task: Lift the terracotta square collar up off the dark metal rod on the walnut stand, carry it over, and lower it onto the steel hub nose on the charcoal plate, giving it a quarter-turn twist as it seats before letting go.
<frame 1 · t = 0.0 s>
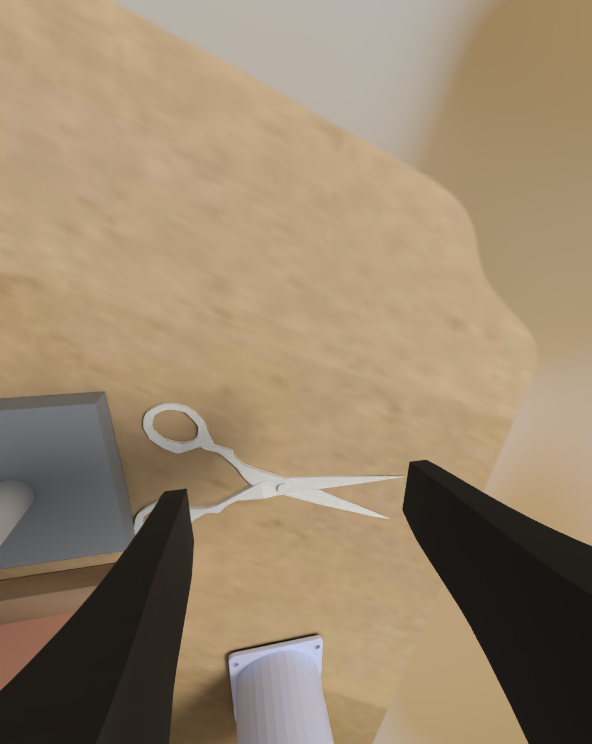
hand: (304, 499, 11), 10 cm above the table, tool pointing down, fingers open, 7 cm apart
collar: (50, 643, 22), point 1 cm above the table, touching stand
stand: (60, 620, 23), on the table
scissors: (270, 480, 23), on the table
hub: (28, 477, 19), on the table
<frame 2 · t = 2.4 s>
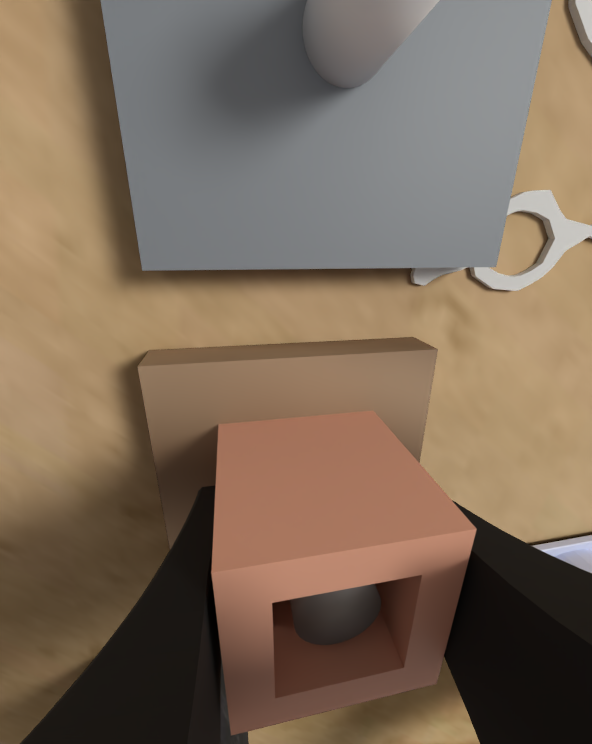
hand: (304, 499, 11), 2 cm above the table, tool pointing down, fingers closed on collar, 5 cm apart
collar: (298, 481, 12), point 1 cm above the table, touching gripper, stand
travel mug: (169, 674, 16), on the table
stand: (291, 456, 13), on the table
hub: (328, 65, 9), on the table
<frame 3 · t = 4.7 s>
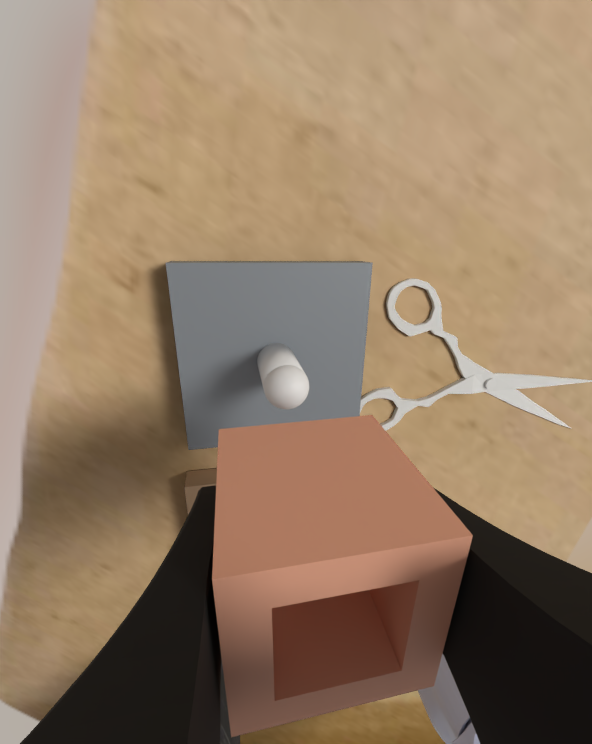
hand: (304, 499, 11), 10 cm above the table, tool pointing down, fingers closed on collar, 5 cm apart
collar: (298, 485, 12), point 9 cm above the table, touching gripper
travel mug: (189, 643, 27), on the table
stand: (261, 517, 23), on the table
scissors: (471, 379, 23), on the table
hub: (272, 352, 19), on the table
when the fingers open (3 cm above the table, at t = 7.2 s): collar stays where it is, resting on hub.
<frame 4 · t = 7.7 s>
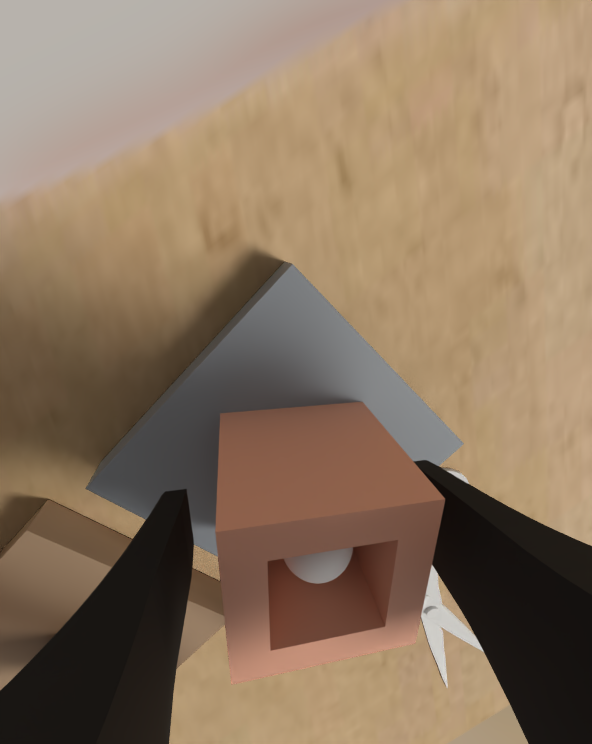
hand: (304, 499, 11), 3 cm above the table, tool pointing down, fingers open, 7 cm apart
collar: (293, 467, 12), point 1 cm above the table, touching hub
stand: (86, 612, 15), on the table
scissors: (416, 592, 20), on the table
hub: (286, 441, 14), on the table
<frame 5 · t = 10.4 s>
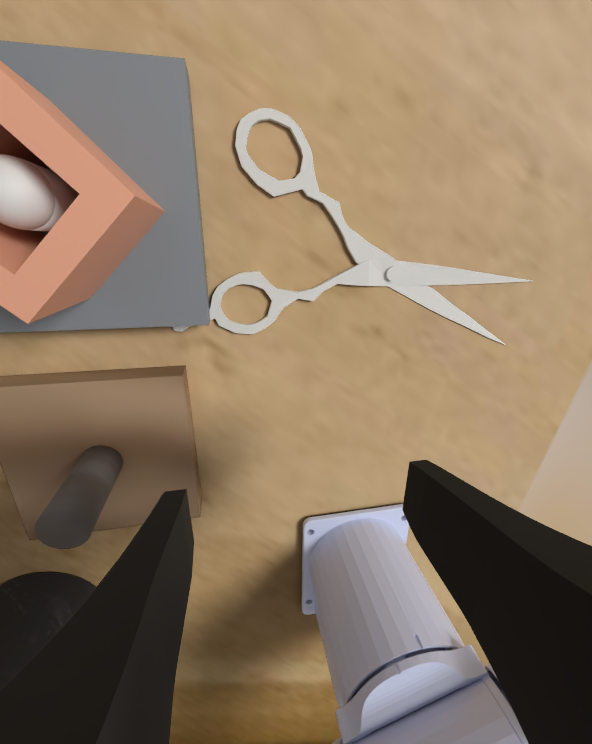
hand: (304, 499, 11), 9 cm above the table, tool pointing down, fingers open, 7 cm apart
collar: (71, 208, 13), point 1 cm above the table, touching hub
travel mug: (49, 607, 22), on the table
stand: (111, 445, 19), on the table
scissors: (373, 272, 19), on the table
hub: (82, 209, 15), on the table
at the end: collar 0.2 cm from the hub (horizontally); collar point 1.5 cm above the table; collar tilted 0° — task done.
